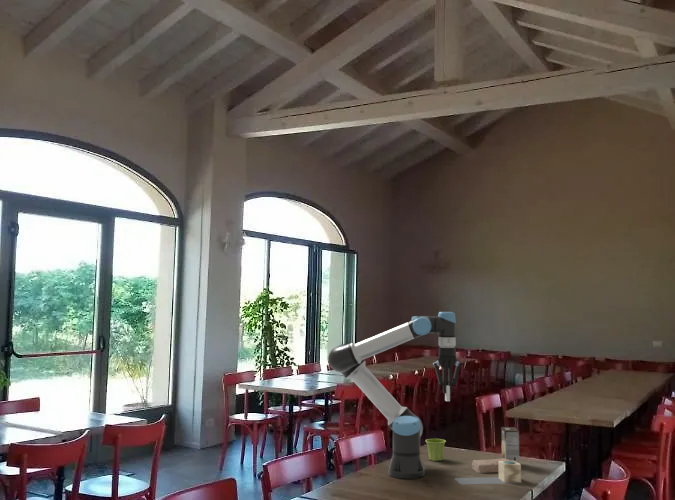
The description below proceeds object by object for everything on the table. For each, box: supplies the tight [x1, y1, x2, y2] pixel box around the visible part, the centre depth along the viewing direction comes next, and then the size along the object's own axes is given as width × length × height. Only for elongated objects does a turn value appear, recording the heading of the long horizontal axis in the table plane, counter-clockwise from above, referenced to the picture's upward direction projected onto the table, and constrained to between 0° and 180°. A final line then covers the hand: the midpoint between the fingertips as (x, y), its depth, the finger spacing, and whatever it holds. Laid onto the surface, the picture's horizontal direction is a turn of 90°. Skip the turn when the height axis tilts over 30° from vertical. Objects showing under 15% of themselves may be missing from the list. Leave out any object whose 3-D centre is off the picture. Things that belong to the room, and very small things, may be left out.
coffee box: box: [500, 426, 520, 464], centre depth 314 cm, size 9×6×16 cm
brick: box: [471, 457, 511, 474], centre depth 303 cm, size 17×8×5 cm, turn 103°
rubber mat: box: [453, 476, 523, 486], centre depth 284 cm, size 26×10×1 cm, turn 96°
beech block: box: [498, 461, 522, 482], centre depth 285 cm, size 7×7×7 cm
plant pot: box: [425, 438, 447, 462], centre depth 323 cm, size 9×9×9 cm
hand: (447, 400), depth 307 cm, fingers closed
